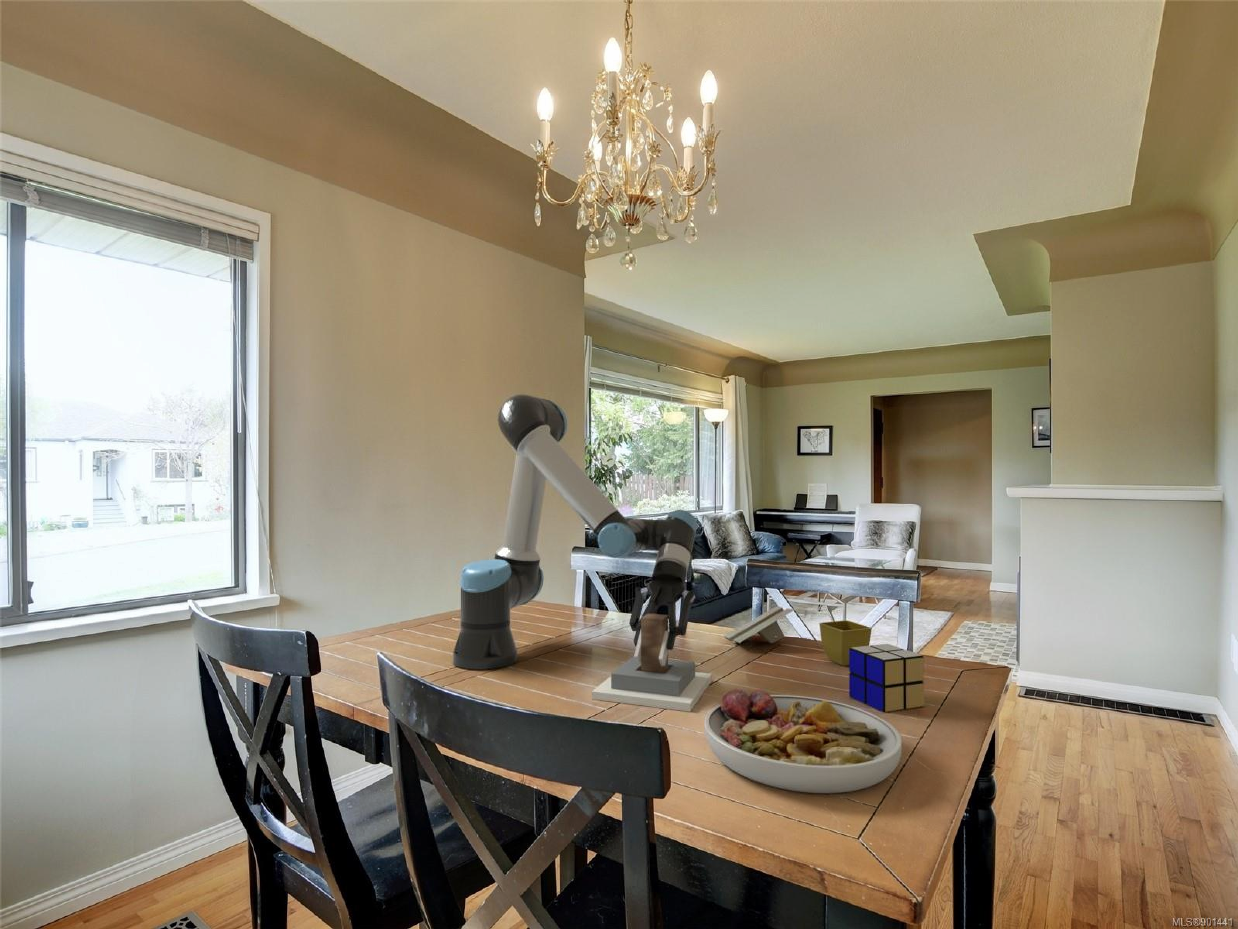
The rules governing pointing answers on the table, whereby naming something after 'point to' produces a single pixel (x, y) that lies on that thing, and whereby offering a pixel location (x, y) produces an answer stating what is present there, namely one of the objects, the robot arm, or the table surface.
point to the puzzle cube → (886, 677)
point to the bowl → (802, 742)
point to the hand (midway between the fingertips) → (649, 661)
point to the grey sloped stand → (761, 627)
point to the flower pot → (843, 639)
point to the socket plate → (655, 698)
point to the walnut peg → (653, 642)
